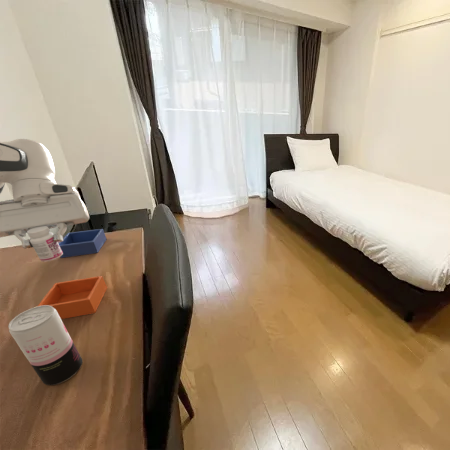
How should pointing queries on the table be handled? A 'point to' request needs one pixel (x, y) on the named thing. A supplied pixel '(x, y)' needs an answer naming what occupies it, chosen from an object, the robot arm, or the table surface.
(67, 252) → the blue bin
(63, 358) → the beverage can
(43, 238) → the pill bottle
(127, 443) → the table surface
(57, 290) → the terracotta bin
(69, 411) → the table surface
